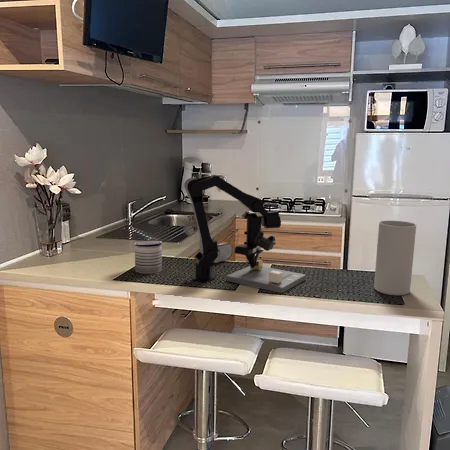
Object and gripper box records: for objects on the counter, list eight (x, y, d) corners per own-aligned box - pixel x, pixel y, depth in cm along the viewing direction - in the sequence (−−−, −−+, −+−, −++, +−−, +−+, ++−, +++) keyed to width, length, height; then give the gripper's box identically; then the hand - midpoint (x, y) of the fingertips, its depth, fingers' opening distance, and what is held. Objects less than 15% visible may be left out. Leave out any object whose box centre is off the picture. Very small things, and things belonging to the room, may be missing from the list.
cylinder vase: (413, 297, 163) (419, 227, 158) (376, 294, 165) (381, 225, 160) (406, 286, 175) (412, 221, 170) (371, 284, 177) (376, 219, 172)
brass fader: (258, 270, 184) (259, 262, 183) (250, 268, 186) (250, 260, 185) (262, 268, 186) (262, 260, 186) (253, 267, 188) (254, 258, 188)
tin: (228, 257, 212) (228, 239, 211) (233, 259, 210) (233, 240, 209) (206, 264, 201) (206, 245, 199) (211, 265, 199) (212, 246, 197)
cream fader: (278, 283, 168) (278, 274, 167) (268, 281, 170) (269, 272, 170) (282, 281, 170) (282, 272, 170) (272, 279, 173) (272, 270, 172)
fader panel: (282, 293, 165) (282, 287, 164) (226, 280, 178) (226, 275, 177) (305, 279, 181) (305, 274, 181) (252, 269, 194) (253, 264, 194)
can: (134, 274, 184) (134, 245, 182) (133, 266, 195) (133, 238, 193) (163, 273, 187) (163, 244, 184) (161, 265, 197) (161, 238, 195)
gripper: (259, 235, 169) (258, 276, 171) (283, 228, 184) (281, 266, 187) (234, 231, 175) (233, 271, 178) (258, 224, 190) (257, 261, 193)
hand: (252, 267), depth 183 cm, fingers closed
